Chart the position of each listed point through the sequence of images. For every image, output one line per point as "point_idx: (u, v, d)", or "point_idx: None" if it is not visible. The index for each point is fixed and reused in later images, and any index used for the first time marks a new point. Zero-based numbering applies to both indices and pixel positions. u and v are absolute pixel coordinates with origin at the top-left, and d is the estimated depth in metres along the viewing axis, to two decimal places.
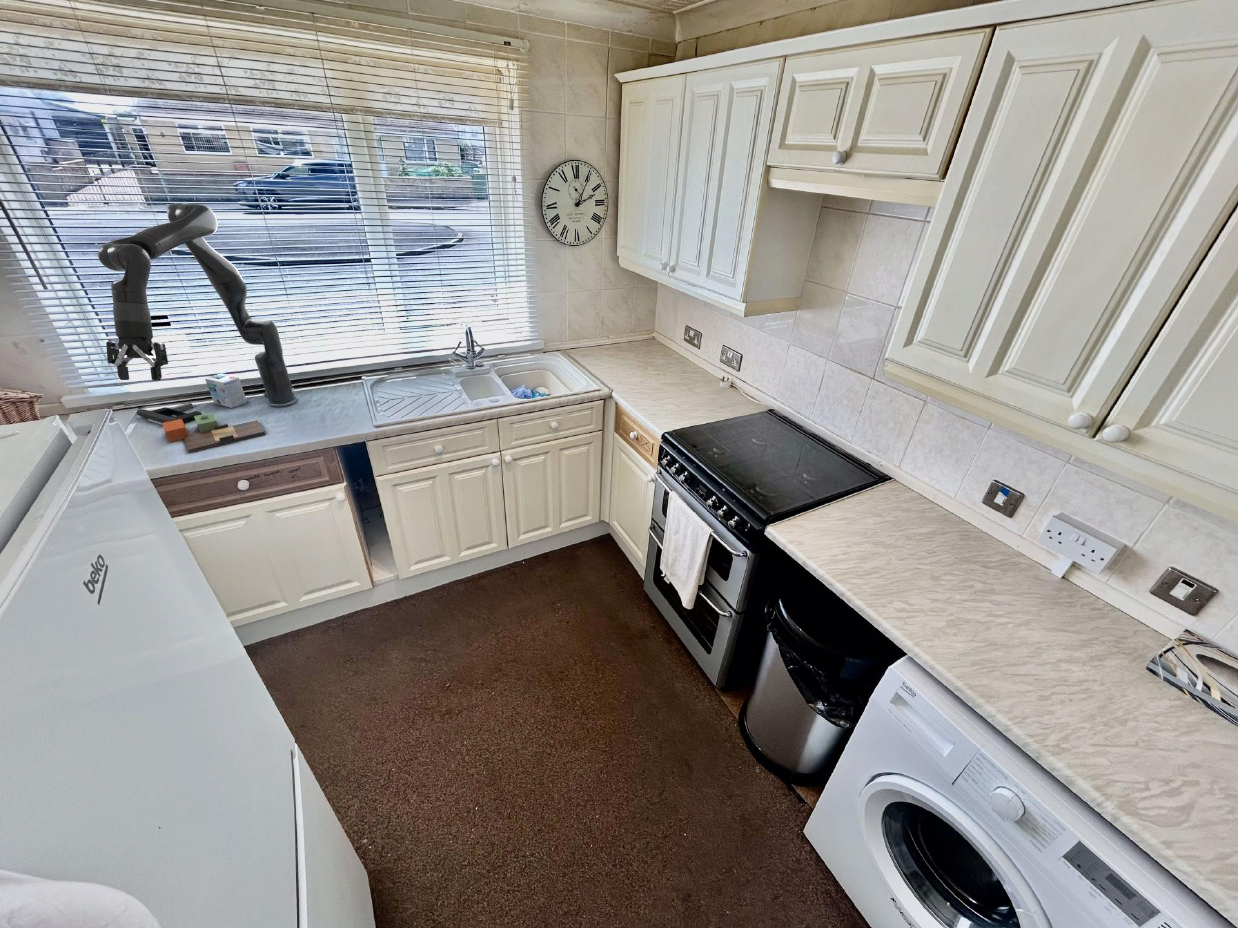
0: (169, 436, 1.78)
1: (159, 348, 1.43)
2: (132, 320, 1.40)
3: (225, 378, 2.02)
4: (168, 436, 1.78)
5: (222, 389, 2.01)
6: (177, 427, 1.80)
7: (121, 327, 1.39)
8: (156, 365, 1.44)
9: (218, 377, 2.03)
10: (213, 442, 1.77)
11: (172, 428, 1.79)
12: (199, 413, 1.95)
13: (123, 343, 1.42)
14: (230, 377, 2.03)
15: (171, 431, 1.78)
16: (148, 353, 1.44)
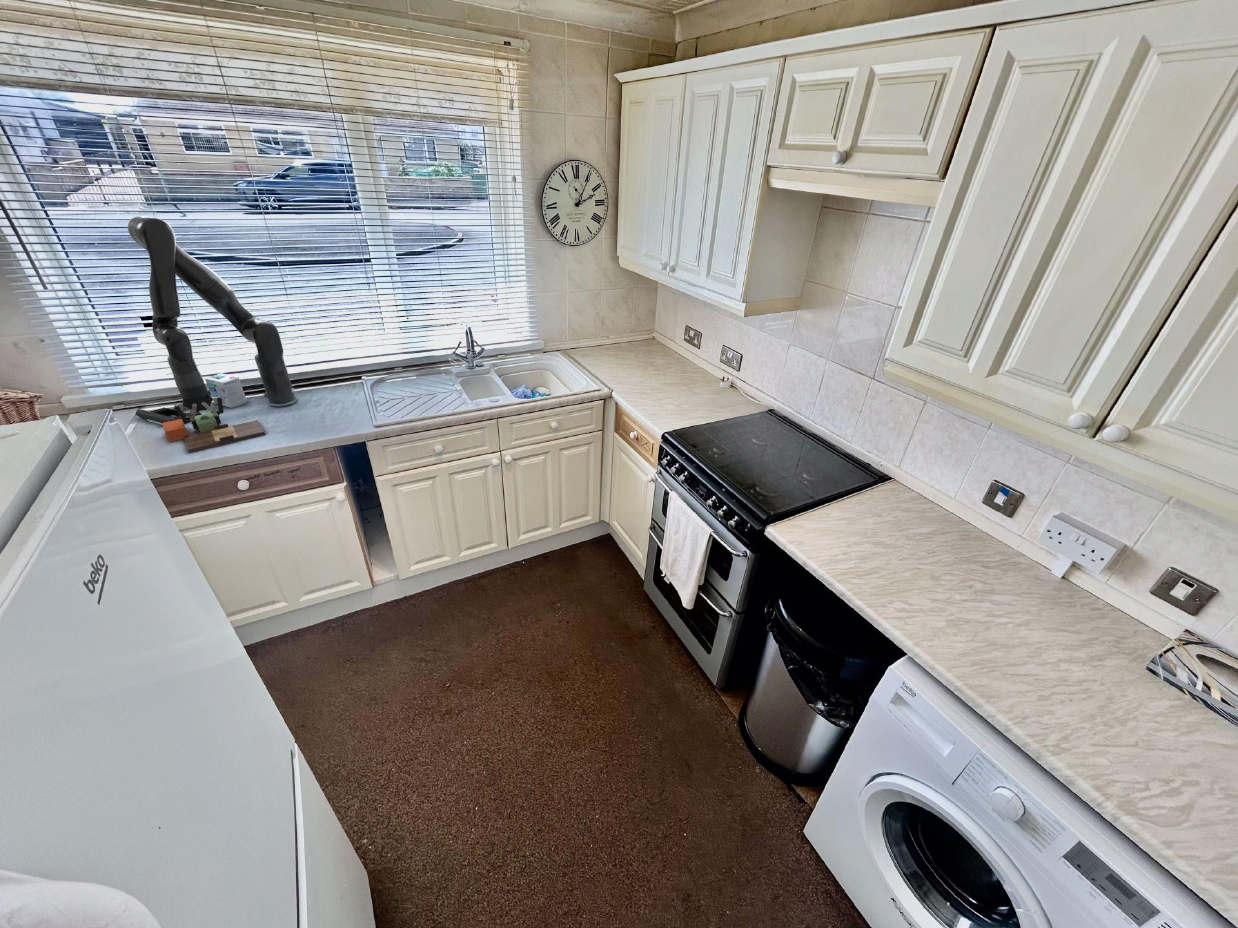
0: (169, 436, 1.78)
1: None
2: (200, 384, 1.79)
3: (225, 378, 2.02)
4: (168, 436, 1.78)
5: (222, 389, 2.01)
6: (177, 427, 1.80)
7: (193, 392, 1.78)
8: (218, 414, 1.88)
9: (218, 377, 2.03)
10: (213, 442, 1.77)
11: (172, 428, 1.79)
12: (199, 413, 1.95)
13: (188, 402, 1.81)
14: (230, 377, 2.03)
15: (171, 431, 1.78)
16: None
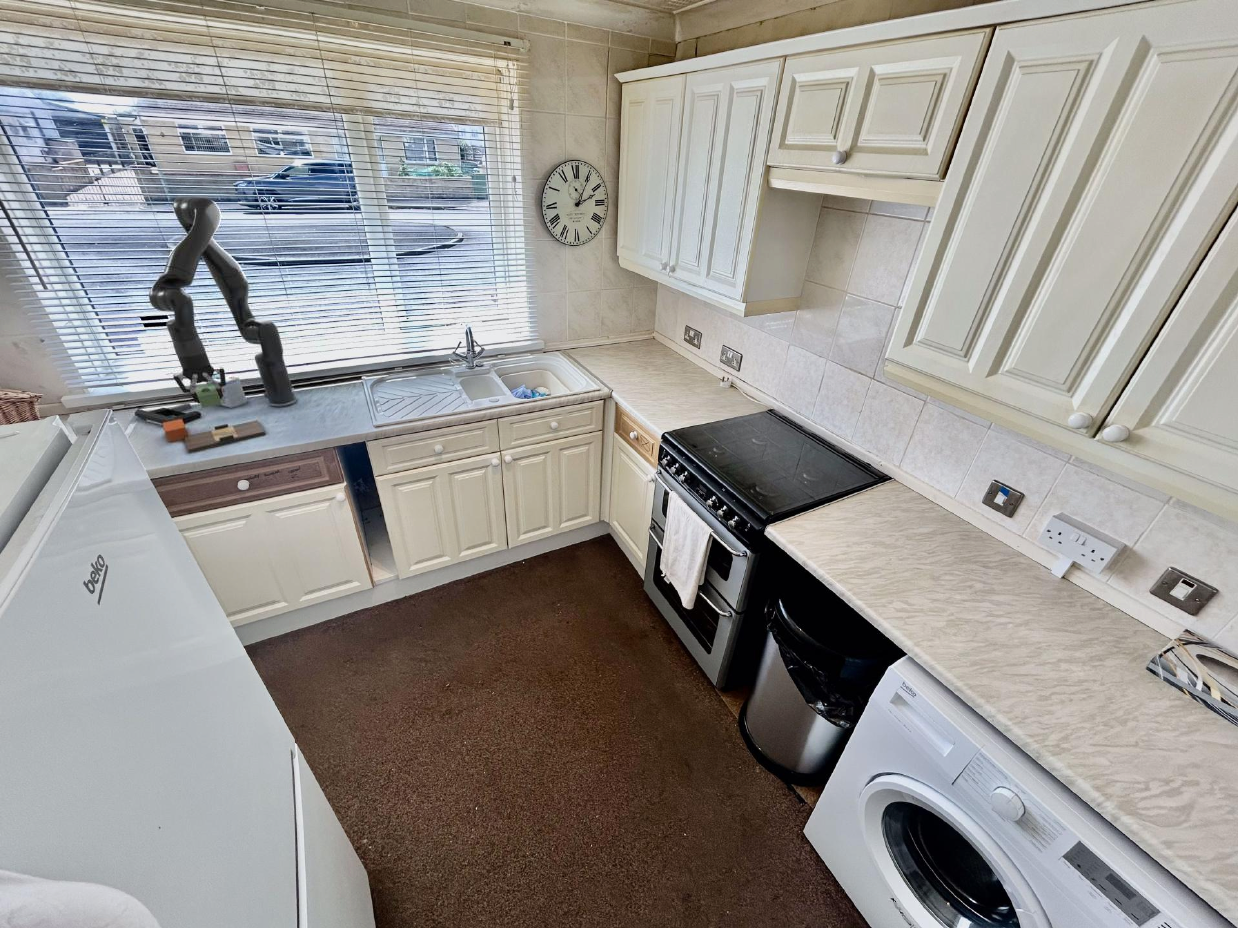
0: (169, 436, 1.78)
1: (224, 373, 1.75)
2: (201, 353, 1.67)
3: (225, 378, 2.02)
4: (168, 436, 1.78)
5: (222, 389, 2.01)
6: (177, 427, 1.80)
7: (194, 361, 1.67)
8: (220, 387, 1.76)
9: (218, 377, 2.03)
10: (213, 442, 1.77)
11: (172, 428, 1.79)
12: (198, 413, 1.95)
13: (189, 372, 1.69)
14: (230, 377, 2.03)
15: (171, 431, 1.78)
16: None
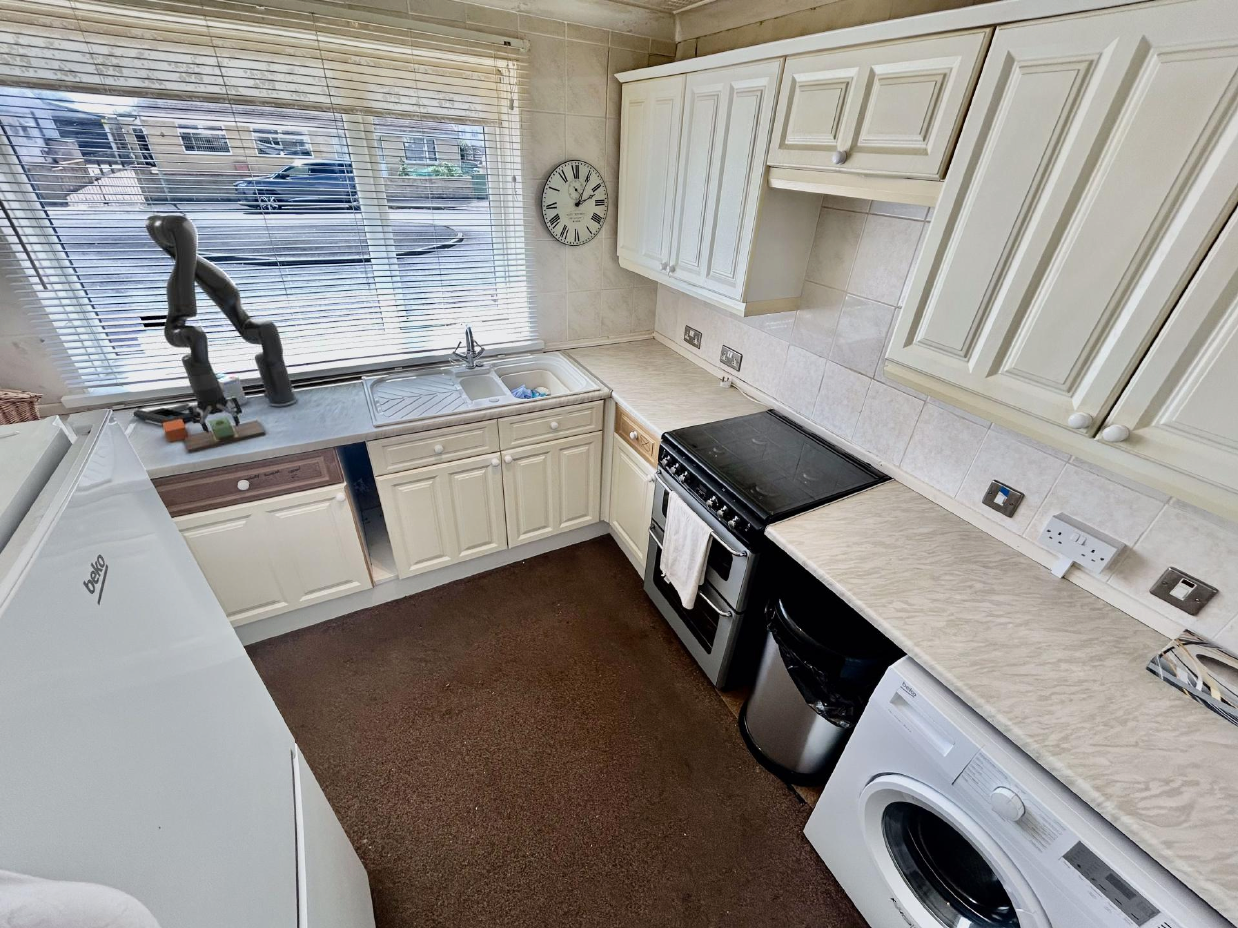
0: (169, 436, 1.78)
1: (237, 401, 1.80)
2: (215, 386, 1.73)
3: (225, 378, 2.02)
4: (168, 436, 1.78)
5: (222, 389, 2.01)
6: (177, 427, 1.80)
7: (209, 394, 1.72)
8: (237, 414, 1.82)
9: (218, 377, 2.03)
10: (213, 442, 1.77)
11: (172, 428, 1.79)
12: (198, 413, 1.95)
13: (204, 405, 1.74)
14: (230, 377, 2.03)
15: (171, 431, 1.78)
16: None
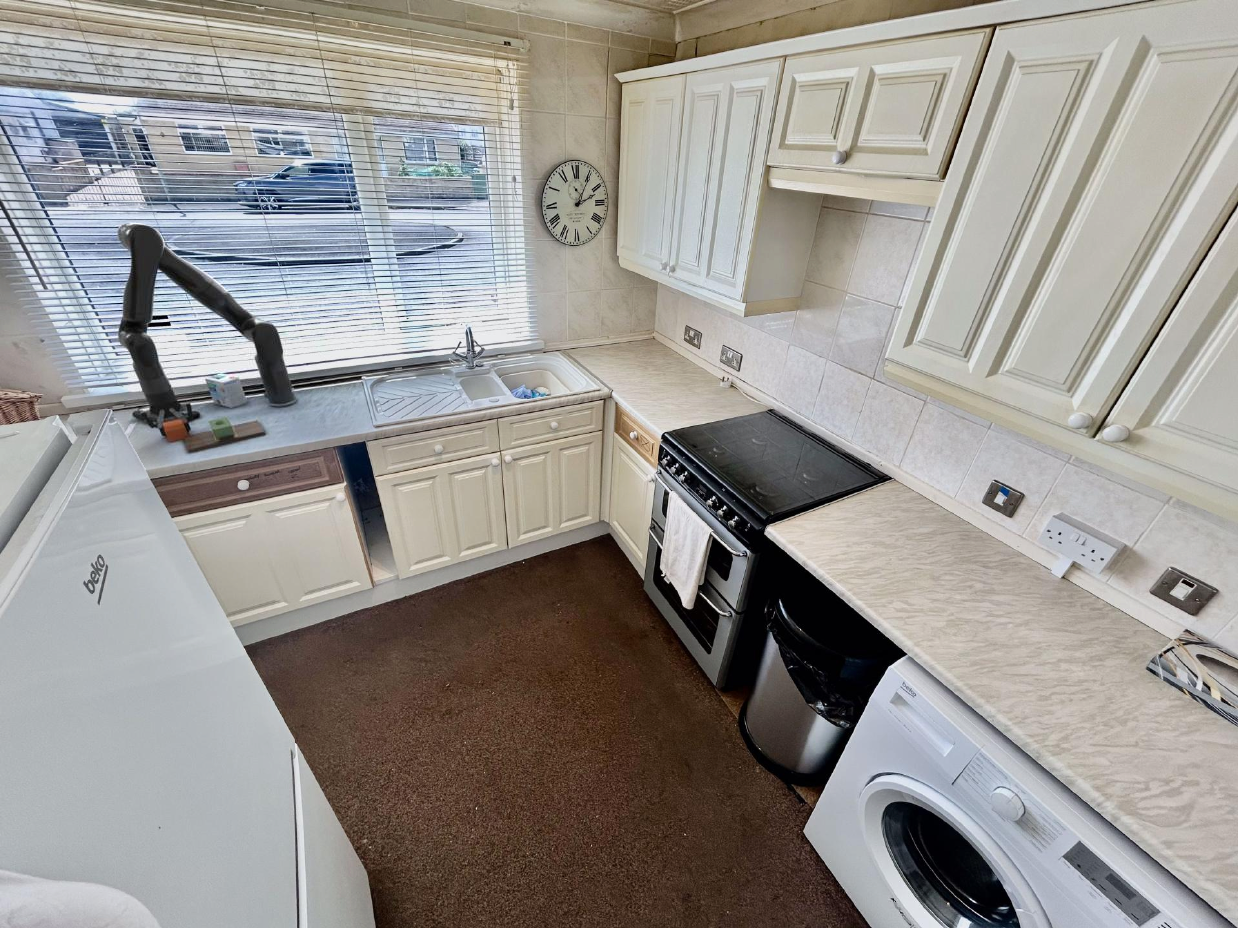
0: (169, 436, 1.78)
1: None
2: (167, 390, 1.74)
3: (225, 378, 2.02)
4: (168, 436, 1.78)
5: (222, 389, 2.01)
6: (177, 427, 1.80)
7: (160, 398, 1.73)
8: (187, 421, 1.83)
9: (218, 377, 2.03)
10: (213, 442, 1.77)
11: (172, 428, 1.79)
12: (197, 413, 1.95)
13: (156, 408, 1.75)
14: (230, 377, 2.03)
15: (171, 431, 1.78)
16: None
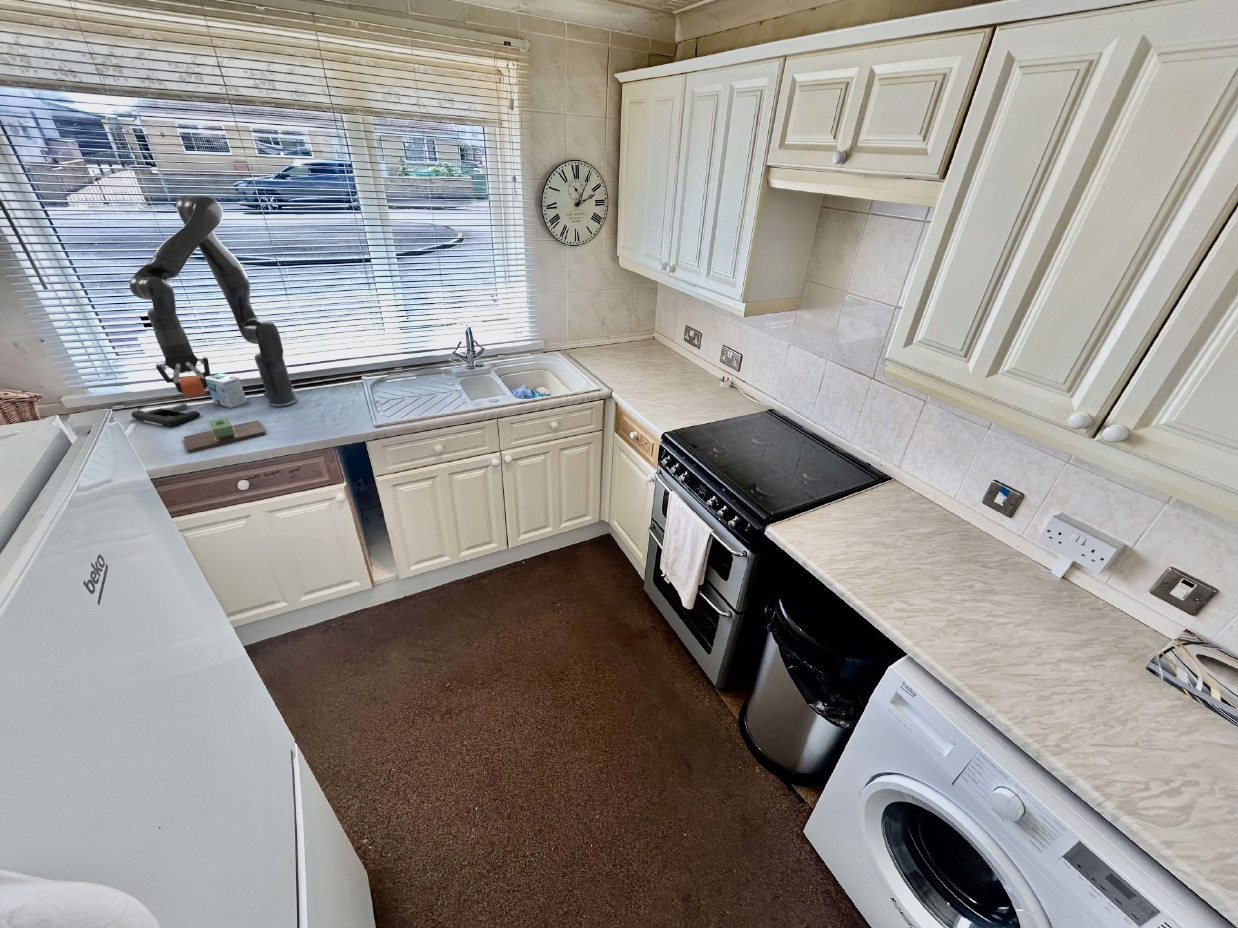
0: (185, 391, 1.70)
1: None
2: (183, 342, 1.66)
3: (225, 378, 2.02)
4: (184, 391, 1.69)
5: (222, 389, 2.01)
6: (193, 382, 1.71)
7: (176, 351, 1.65)
8: (204, 377, 1.74)
9: (218, 377, 2.03)
10: (213, 442, 1.77)
11: (188, 383, 1.71)
12: (197, 413, 1.95)
13: (171, 362, 1.67)
14: (230, 377, 2.03)
15: (187, 386, 1.69)
16: None
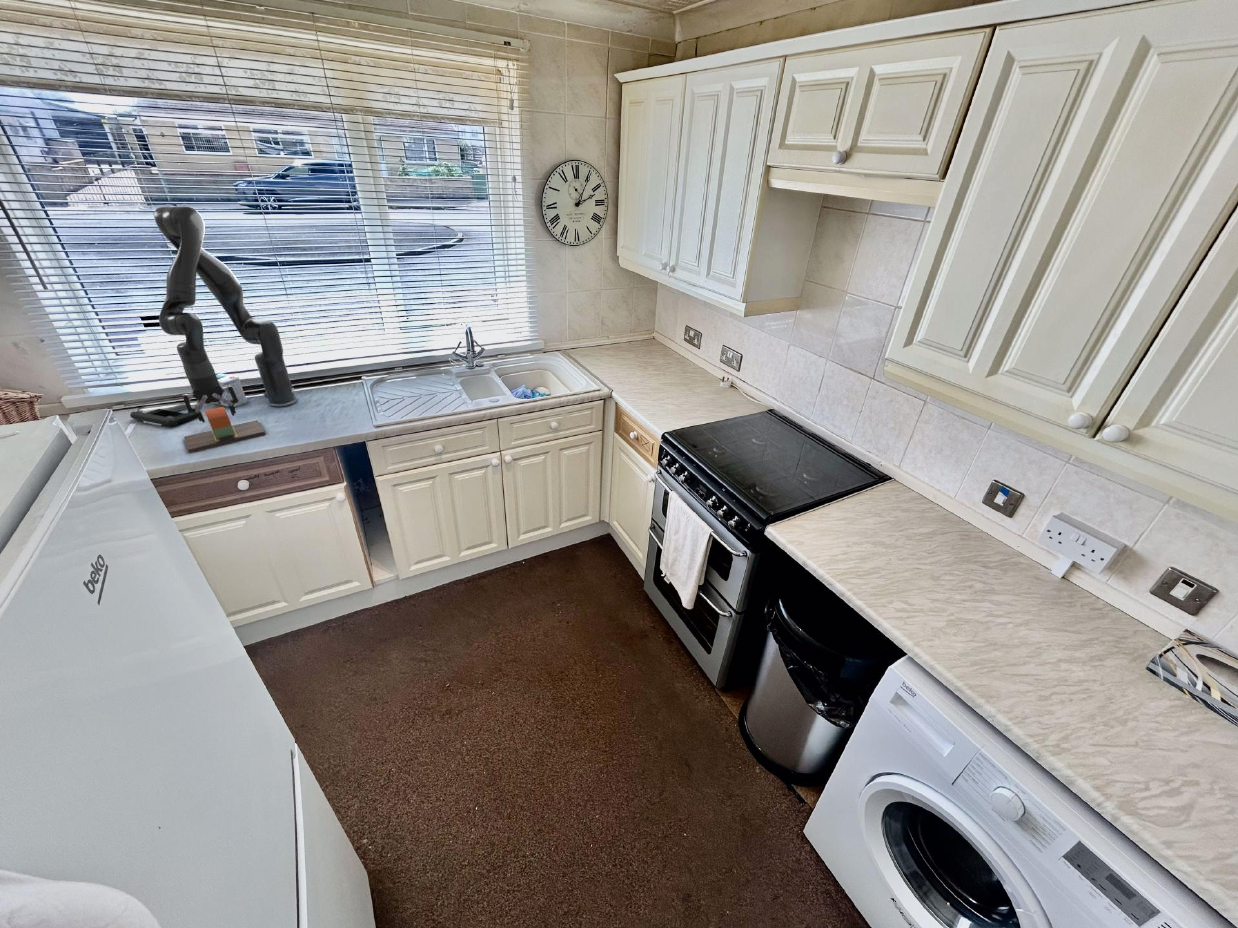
0: (212, 424, 1.75)
1: (233, 390, 1.78)
2: (210, 375, 1.71)
3: (225, 378, 2.02)
4: (211, 424, 1.75)
5: None
6: (220, 415, 1.77)
7: (204, 383, 1.70)
8: (233, 404, 1.80)
9: (218, 377, 2.03)
10: (213, 442, 1.77)
11: (215, 416, 1.76)
12: None
13: (199, 394, 1.72)
14: (230, 377, 2.03)
15: (214, 418, 1.75)
16: (220, 396, 1.77)
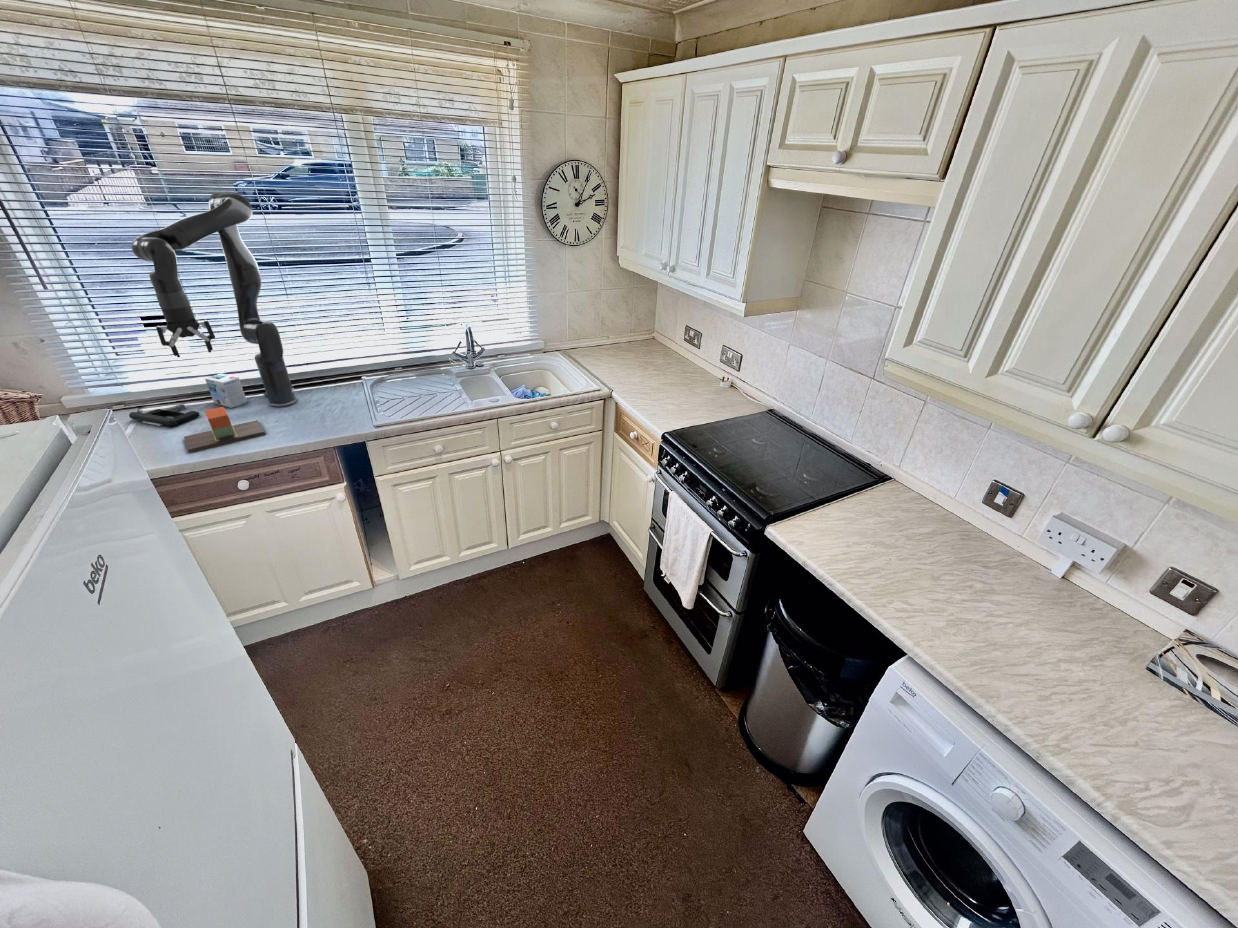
0: (212, 424, 1.75)
1: (209, 325, 1.73)
2: (185, 306, 1.65)
3: (225, 378, 2.02)
4: (211, 424, 1.75)
5: (222, 389, 2.01)
6: (220, 415, 1.77)
7: (178, 314, 1.64)
8: (209, 339, 1.74)
9: (218, 377, 2.03)
10: (213, 442, 1.77)
11: (215, 416, 1.76)
12: (196, 413, 1.95)
13: (174, 326, 1.67)
14: (230, 377, 2.03)
15: (214, 418, 1.75)
16: None
